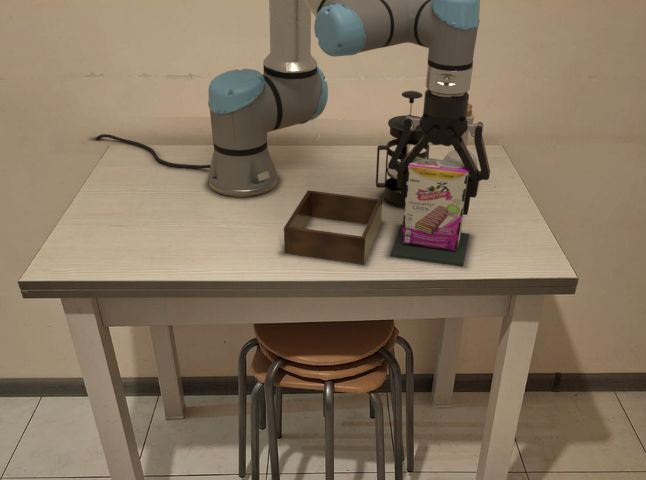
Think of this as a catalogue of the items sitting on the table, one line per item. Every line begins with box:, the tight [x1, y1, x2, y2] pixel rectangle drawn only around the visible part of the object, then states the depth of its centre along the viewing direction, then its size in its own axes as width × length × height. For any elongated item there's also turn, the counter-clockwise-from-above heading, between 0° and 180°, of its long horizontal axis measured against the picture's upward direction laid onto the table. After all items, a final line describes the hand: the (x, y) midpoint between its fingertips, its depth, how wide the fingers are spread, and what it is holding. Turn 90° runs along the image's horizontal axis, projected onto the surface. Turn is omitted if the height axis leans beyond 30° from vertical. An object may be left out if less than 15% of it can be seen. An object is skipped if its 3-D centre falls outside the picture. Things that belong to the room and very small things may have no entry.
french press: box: [375, 90, 430, 209], centre depth 146 cm, size 12×9×23 cm
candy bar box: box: [401, 157, 469, 251], centre depth 131 cm, size 11×5×16 cm, turn 77°
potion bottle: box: [442, 102, 479, 176], centre depth 154 cm, size 9×9×18 cm
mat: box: [389, 224, 470, 267], centre depth 137 cm, size 14×12×1 cm
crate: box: [283, 189, 383, 265], centre depth 137 cm, size 16×17×6 cm
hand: (434, 207), depth 132 cm, fingers closed on candy bar box, 11 cm apart
